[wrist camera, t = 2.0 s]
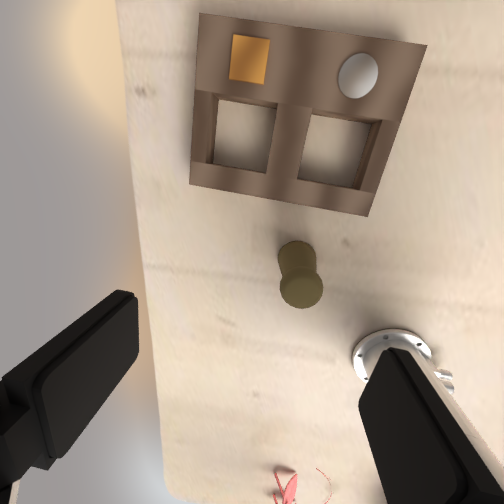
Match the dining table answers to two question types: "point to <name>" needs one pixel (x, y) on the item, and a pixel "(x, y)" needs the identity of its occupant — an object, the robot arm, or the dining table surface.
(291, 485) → the figurine
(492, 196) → the dining table surface
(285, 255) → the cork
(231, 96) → the socket board
